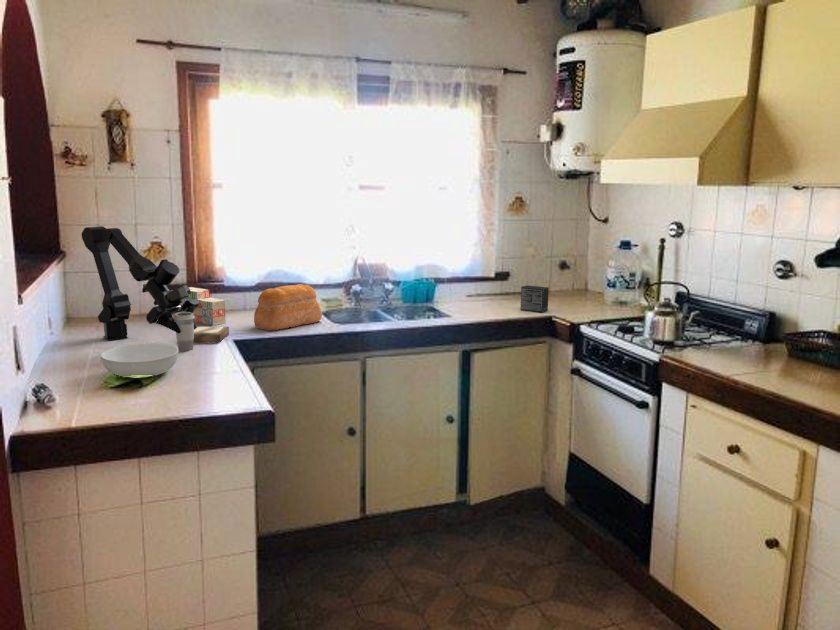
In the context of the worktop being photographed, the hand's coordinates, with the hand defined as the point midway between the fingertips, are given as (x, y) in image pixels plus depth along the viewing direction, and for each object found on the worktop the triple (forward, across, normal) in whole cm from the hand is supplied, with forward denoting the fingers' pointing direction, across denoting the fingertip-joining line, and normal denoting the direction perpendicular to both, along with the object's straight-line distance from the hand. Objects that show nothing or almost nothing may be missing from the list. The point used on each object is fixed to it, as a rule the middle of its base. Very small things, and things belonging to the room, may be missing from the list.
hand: (187, 330), depth 228 cm
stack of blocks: (-16, +36, +26) cm, 47 cm away
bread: (+8, +48, +2) cm, 49 cm away
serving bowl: (+11, -27, -1) cm, 29 cm away
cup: (+4, 0, +6) cm, 7 cm away
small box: (+60, +123, -51) cm, 146 cm away
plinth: (0, +15, +9) cm, 18 cm away
